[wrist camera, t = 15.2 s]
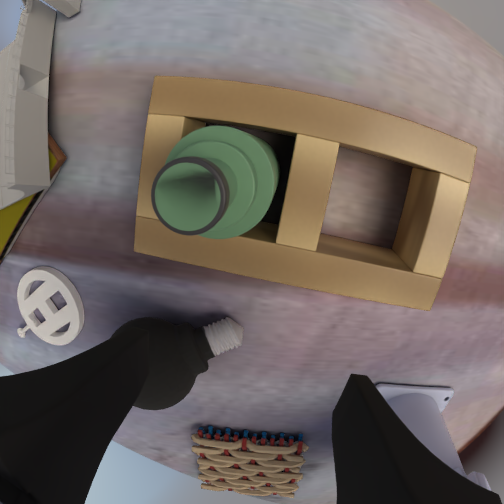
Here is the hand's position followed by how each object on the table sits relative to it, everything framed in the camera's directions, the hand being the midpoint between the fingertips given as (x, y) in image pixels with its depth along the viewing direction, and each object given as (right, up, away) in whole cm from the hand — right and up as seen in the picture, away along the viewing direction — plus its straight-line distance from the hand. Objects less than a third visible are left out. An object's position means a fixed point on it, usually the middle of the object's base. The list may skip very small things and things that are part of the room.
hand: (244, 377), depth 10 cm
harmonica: (-19, +7, +8) cm, 22 cm away
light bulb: (-5, -2, +12) cm, 13 cm away
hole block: (+3, +8, +8) cm, 12 cm away
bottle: (0, +9, +8) cm, 12 cm away
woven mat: (0, -17, +14) cm, 22 cm away
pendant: (-19, -1, +13) cm, 22 cm away
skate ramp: (-18, +15, +7) cm, 24 cm away
